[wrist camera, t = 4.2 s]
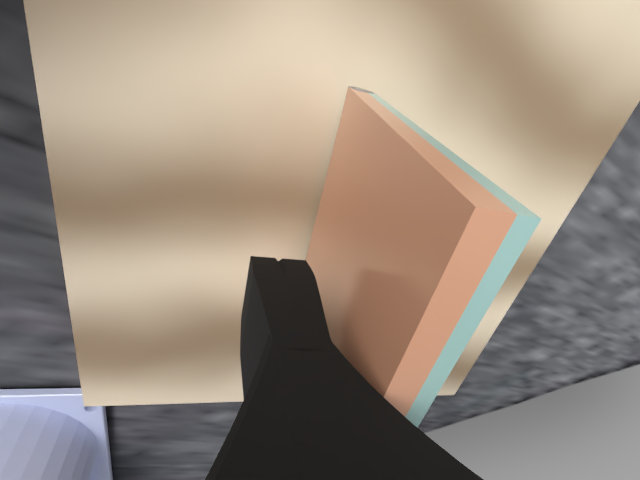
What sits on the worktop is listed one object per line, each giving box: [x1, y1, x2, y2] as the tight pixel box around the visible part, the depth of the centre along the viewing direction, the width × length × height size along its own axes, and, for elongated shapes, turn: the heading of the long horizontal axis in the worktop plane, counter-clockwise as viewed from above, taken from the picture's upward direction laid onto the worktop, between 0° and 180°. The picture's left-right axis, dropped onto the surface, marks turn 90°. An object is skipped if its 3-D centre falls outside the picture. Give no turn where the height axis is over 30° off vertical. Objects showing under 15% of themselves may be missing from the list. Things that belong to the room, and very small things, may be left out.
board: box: [23, 0, 640, 407], centre depth 14 cm, size 20×19×1 cm
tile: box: [305, 86, 541, 428], centre depth 10 cm, size 10×8×1 cm
